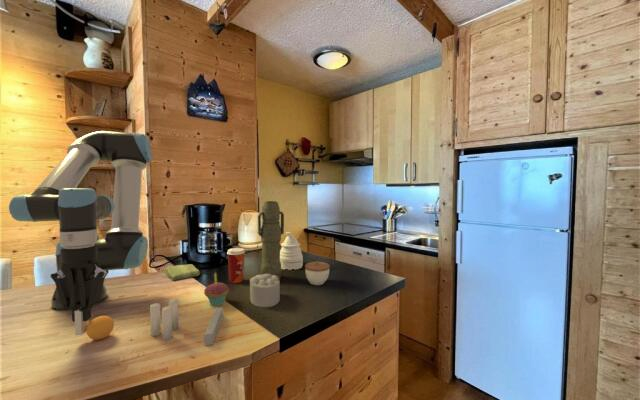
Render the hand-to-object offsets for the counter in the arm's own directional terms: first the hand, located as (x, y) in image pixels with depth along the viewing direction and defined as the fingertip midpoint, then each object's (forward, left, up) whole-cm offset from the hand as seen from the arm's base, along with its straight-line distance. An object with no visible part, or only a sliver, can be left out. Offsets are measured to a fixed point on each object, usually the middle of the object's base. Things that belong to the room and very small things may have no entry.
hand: (82, 332), depth 75 cm
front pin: (+18, +1, -3) cm, 18 cm away
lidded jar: (+70, +35, -3) cm, 78 cm away
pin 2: (+22, +3, -3) cm, 22 cm away
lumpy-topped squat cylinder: (+48, +20, -3) cm, 52 cm away
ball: (+4, +1, 0) cm, 4 cm away
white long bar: (+34, +1, -2) cm, 34 cm away
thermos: (+50, +43, -3) cm, 66 cm away
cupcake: (+31, +20, -3) cm, 37 cm away
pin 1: (+22, -2, -3) cm, 22 cm away
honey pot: (+60, +61, -3) cm, 86 cm away
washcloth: (+8, +56, -3) cm, 57 cm away
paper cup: (+35, +42, -3) cm, 55 cm away
